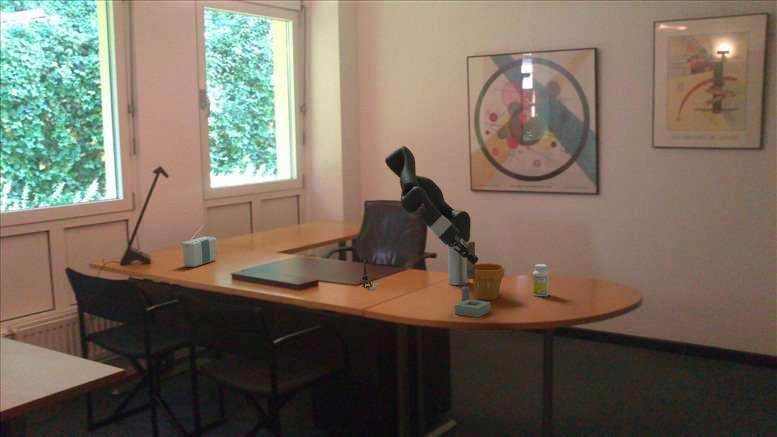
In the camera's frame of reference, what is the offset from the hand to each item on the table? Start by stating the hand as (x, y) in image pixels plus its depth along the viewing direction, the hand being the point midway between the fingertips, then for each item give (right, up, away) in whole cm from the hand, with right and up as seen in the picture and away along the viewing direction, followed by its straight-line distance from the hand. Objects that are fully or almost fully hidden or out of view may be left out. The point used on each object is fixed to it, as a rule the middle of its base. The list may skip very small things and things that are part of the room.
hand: (476, 261), depth 285 cm
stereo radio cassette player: (-134, -8, +113) cm, 175 cm away
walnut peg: (-2, -6, +1) cm, 7 cm away
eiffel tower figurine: (-44, -15, +52) cm, 70 cm away
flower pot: (+8, -17, +26) cm, 32 cm away
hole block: (-1, -20, +3) cm, 20 cm away
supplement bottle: (+30, -16, +28) cm, 44 cm away
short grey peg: (-3, -18, +15) cm, 24 cm away
